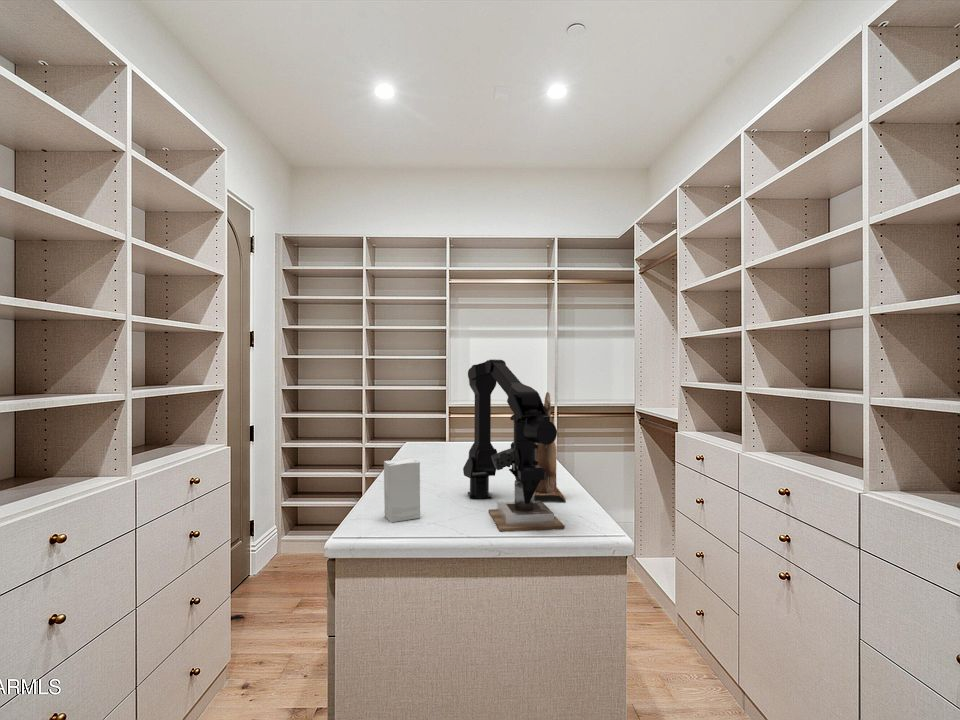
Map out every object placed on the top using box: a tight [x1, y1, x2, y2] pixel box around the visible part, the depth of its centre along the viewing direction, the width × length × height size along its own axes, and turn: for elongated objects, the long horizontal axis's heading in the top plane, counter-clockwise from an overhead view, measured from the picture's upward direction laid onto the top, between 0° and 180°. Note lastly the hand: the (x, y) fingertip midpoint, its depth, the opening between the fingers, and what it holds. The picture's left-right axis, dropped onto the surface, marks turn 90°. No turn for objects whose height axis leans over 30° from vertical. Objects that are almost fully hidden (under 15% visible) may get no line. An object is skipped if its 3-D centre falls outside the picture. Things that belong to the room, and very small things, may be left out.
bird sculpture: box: [534, 391, 567, 503], centre depth 149 cm, size 11×12×32 cm
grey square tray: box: [496, 500, 555, 525], centre depth 127 cm, size 12×12×2 cm
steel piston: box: [514, 479, 535, 512], centre depth 127 cm, size 5×5×7 cm
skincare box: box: [383, 457, 421, 524], centre depth 128 cm, size 8×6×15 cm
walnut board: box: [488, 508, 566, 533], centre depth 127 cm, size 16×16×1 cm
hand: (524, 500), depth 127 cm, fingers closed on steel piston, 5 cm apart
